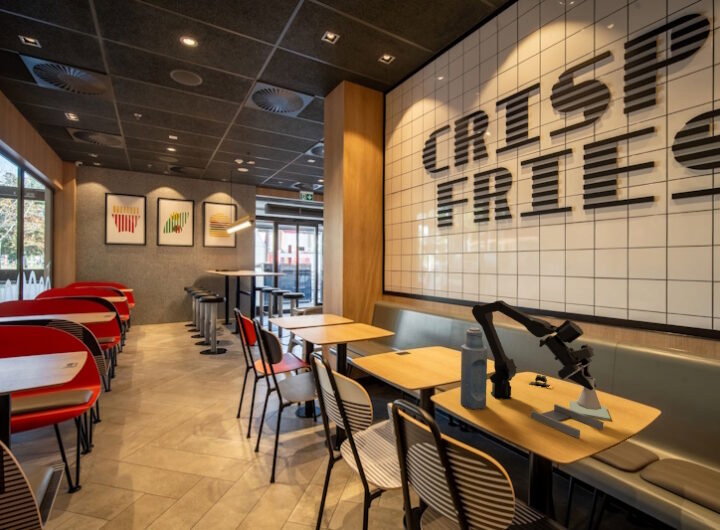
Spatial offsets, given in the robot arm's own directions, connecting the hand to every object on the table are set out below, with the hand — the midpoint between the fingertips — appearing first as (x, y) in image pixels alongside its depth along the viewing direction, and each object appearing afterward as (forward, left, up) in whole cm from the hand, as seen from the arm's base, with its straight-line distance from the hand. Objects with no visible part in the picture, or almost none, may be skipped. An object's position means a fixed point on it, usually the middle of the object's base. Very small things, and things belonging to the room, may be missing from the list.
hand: (593, 388), depth 127 cm
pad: (+5, +10, -12) cm, 17 cm away
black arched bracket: (0, +39, -13) cm, 41 cm away
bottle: (-38, +14, -12) cm, 42 cm away
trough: (-10, -1, -12) cm, 15 cm away
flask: (-1, +1, -7) cm, 7 cm away
